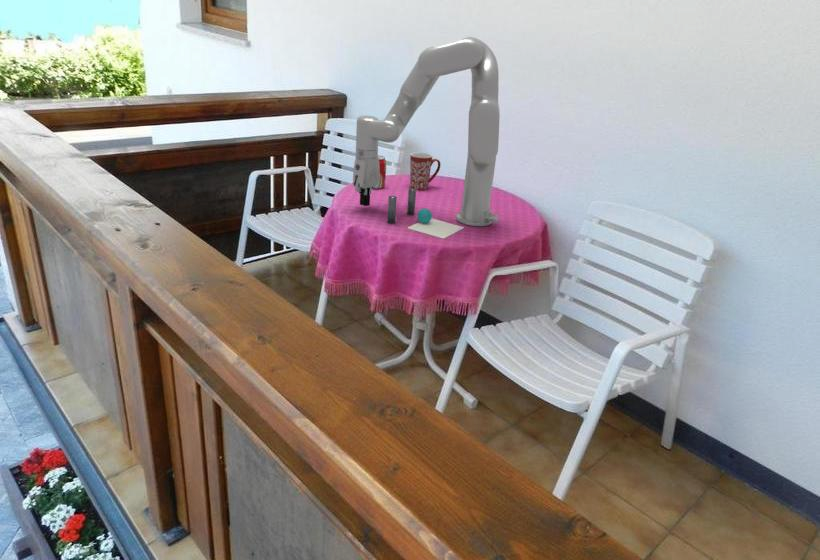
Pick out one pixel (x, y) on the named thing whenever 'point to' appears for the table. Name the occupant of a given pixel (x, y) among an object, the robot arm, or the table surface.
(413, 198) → the post right
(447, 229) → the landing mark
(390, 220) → the post left
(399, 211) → the table surface
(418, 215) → the ball
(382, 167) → the soda can
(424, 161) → the mug
